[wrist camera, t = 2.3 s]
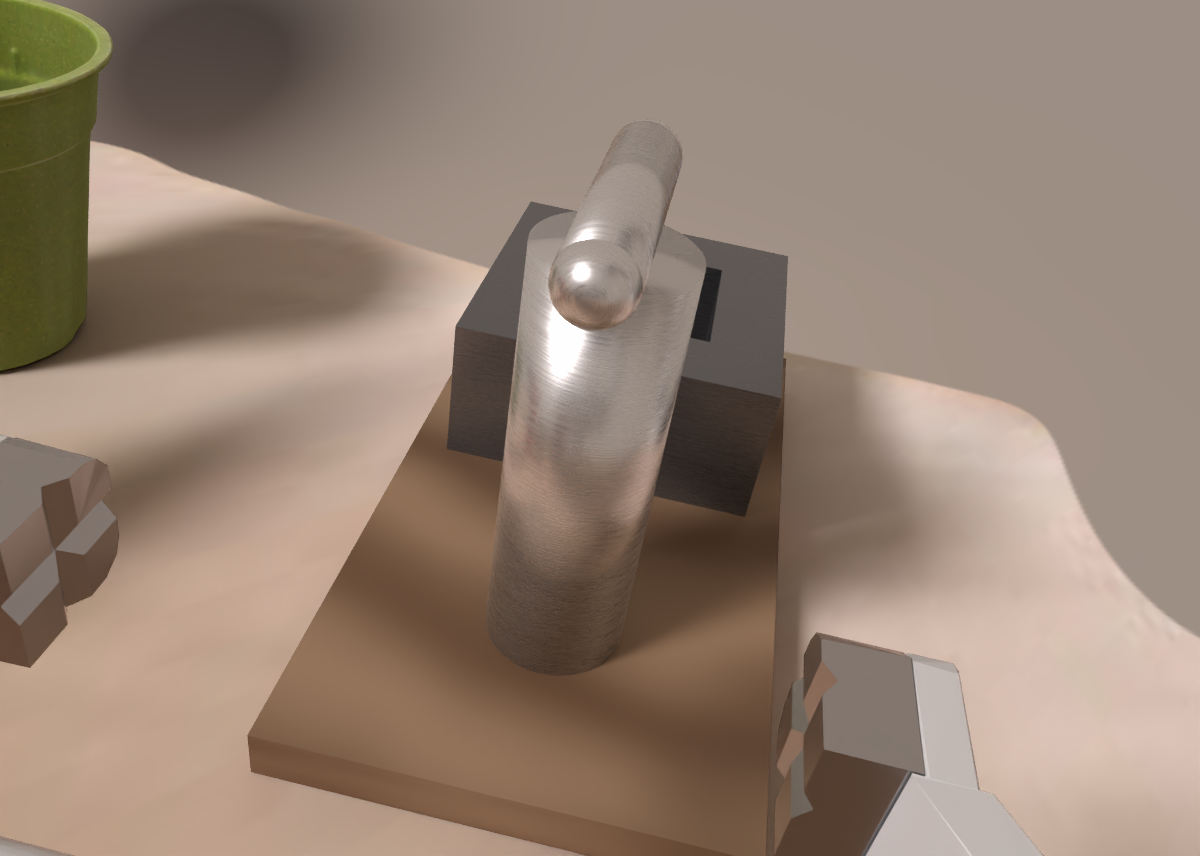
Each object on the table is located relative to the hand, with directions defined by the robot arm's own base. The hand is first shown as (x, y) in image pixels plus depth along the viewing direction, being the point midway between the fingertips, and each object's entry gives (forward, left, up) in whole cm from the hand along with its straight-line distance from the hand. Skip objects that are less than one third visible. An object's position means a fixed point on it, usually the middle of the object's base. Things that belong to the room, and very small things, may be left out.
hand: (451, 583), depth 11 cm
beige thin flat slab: (-9, -16, -15) cm, 24 cm away
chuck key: (-6, -11, -13) cm, 18 cm away
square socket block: (-12, -21, -13) cm, 28 cm away
